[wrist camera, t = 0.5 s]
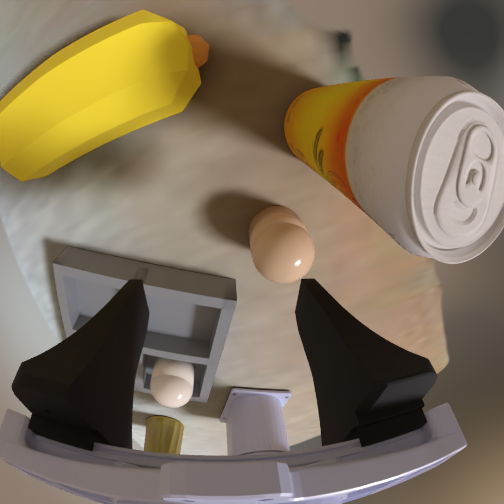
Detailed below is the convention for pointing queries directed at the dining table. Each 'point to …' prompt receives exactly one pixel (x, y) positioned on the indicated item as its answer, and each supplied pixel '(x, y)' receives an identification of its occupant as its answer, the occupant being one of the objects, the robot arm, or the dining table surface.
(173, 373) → the cream egg
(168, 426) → the vase
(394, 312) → the dining table surface
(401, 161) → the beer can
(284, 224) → the brown egg
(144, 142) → the dining table surface
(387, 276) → the dining table surface
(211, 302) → the gray compartment tray
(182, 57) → the yellow banana
